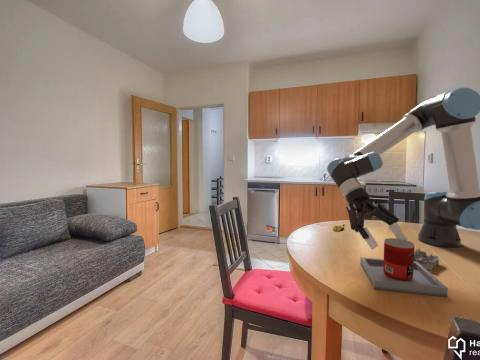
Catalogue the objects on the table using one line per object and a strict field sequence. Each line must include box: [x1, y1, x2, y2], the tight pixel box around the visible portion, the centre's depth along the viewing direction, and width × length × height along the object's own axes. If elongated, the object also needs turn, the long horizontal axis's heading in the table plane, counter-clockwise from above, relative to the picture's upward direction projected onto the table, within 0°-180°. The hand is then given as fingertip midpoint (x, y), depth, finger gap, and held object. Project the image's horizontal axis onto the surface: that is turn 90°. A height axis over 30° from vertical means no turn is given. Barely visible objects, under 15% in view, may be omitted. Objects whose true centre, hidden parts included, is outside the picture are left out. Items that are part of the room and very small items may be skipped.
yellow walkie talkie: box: [332, 224, 346, 232], centre depth 136 cm, size 5×2×15 cm
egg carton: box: [414, 248, 441, 271], centre depth 87 cm, size 11×8×4 cm
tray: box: [359, 256, 449, 298], centre depth 77 cm, size 18×18×2 cm
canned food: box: [383, 237, 415, 281], centre depth 77 cm, size 8×8×11 cm
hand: (390, 244), depth 79 cm, fingers open, 13 cm apart
